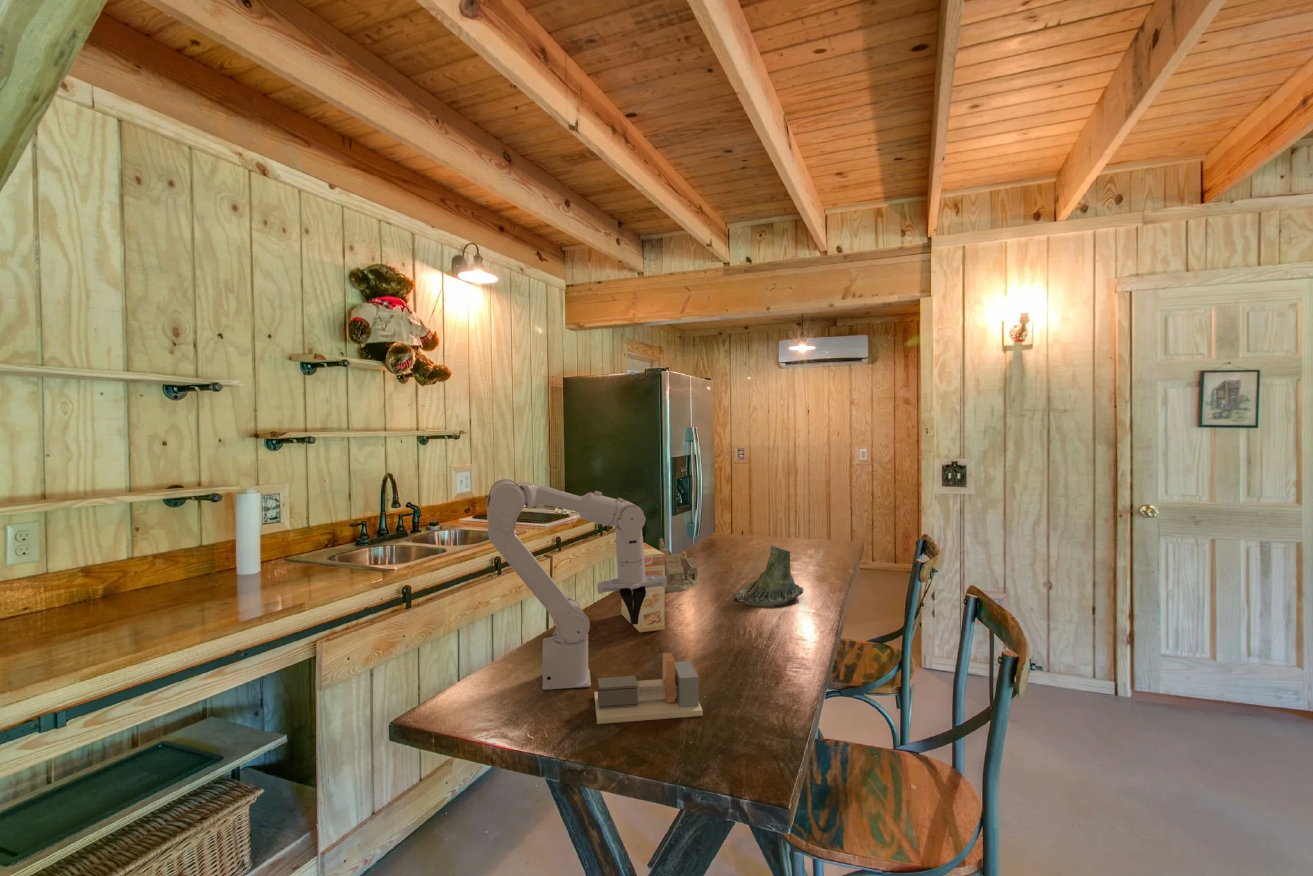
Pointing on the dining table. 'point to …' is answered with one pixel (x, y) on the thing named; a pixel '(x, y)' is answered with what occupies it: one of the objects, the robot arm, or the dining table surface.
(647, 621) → the coffeecake box
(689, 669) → the socket block
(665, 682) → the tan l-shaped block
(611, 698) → the cream rectangular panel
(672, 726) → the dining table surface
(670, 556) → the ceramic cottage
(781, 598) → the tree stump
